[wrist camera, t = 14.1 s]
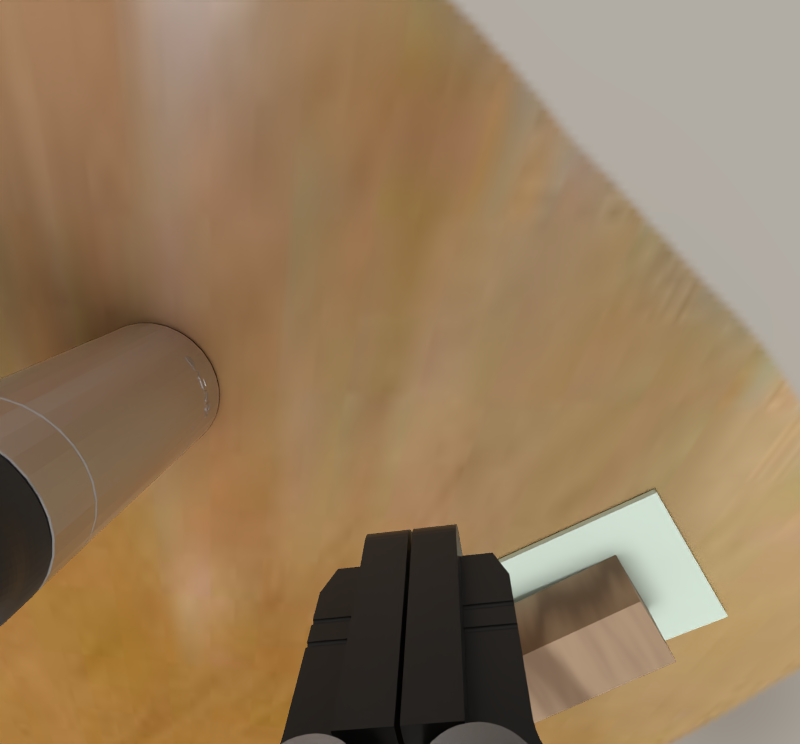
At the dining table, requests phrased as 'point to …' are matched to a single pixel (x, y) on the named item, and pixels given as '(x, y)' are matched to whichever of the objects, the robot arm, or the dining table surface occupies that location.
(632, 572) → the sage mat
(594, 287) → the dining table surface
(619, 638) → the walnut block
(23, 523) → the robot arm
